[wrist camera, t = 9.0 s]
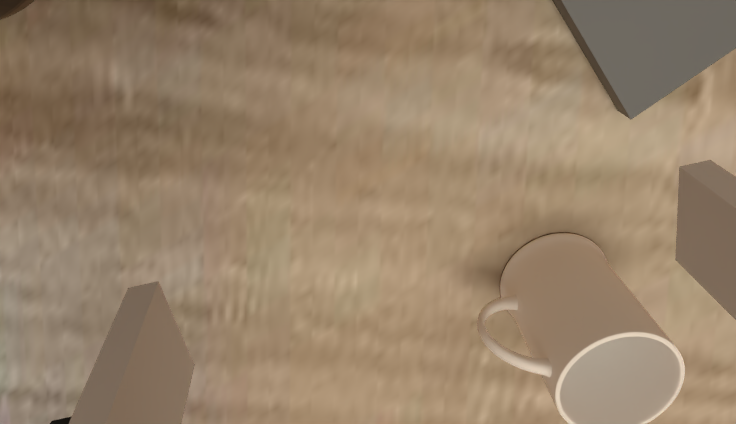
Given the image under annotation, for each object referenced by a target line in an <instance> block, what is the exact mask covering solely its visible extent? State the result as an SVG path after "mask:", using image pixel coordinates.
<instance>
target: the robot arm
mask: <svg viewBox="0 0 736 424" xmlns="http://www.w3.org/2000/svg"><path fill="white" fill-rule="evenodd" d="M33 1H34V0H0V20H1V19H3V18H6V17H9V16H11V15H13V14H15V13H17V12H19V11H20V10H22V9H24V8H25V7H27V6H28V5H29V4H31V3H32V2H33ZM675 260H676V261H677V262H678V263H679V264H680V265H681V266H682V267H683V268H684V269H685V270H686V271H687V272H688V273H689V274H690V275H691V276H692V277H693V278H694V279H695V280H696V281H697V282H698V283H699V284H700V285H701V286H702V287H703V288H704V289H705V290H706V291H707V292H708V293H709V294H710V295H711V296H712V297H713V298H714V299H715V300H716V301H717V302H718V303H719V304H720V305H721V306H722V307H723V308H724V309H725V310H726V311H727V312H728V313H729V314H730V315H731V316H732V317H733V318H734V319H735V320H736V177H735V176H733V175H732V174H731V173H729V172H728V171H726V170H725V169H723V168H722V167H720V166H719V165H717V164H716V163H714V162H713V161H711V160H708V161H703V162H699V163H694V164H689V165H685V166H680V167H679V189H678V213H677V236H676V259H675ZM194 366H195V364H194V362H193V360H192V357H191V355H190V353H189V350H188V348H187V346H186V344H185V341H184V339H183V337H182V334H181V332H180V330H179V327H178V325H177V323H176V321H175V318H174V316H173V314H172V311H171V309H170V307H169V305H168V302H167V300H166V298H165V295H164V293H163V291H162V288H161V286H160V284H159V282H153V283H149V284H144V285H140V286H135V287H131V288H128V290H127V292H126V294H125V297H124V299H123V301H122V303H121V306H120V308H119V310H118V313H117V315H116V317H115V319H114V322H113V324H112V326H111V329H110V331H109V333H108V335H107V338H106V340H105V342H104V344H103V347H102V349H101V351H100V354H99V356H98V358H97V360H96V363H95V365H94V367H93V369H92V372H91V374H90V376H89V379H88V381H87V383H86V385H85V388H84V390H83V392H82V394H81V397H80V399H79V401H78V404H77V406H76V408H75V410H74V413H73V415H72V417H68V418H64V419H59V420H54V421H52V422H51V423H50V424H181V422H182V418H183V413H184V409H185V405H186V400H187V396H188V392H189V387H190V383H191V379H192V374H193V370H194Z"/></svg>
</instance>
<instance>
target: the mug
mask: <svg viewBox="0 0 736 424" xmlns="http://www.w3.org/2000/svg"><path fill="white" fill-rule="evenodd" d="M500 294H501V298H499V299H496V300H493V301H491V302H490V303H488V304H487V305H486V306H484V308H483V309H482V310H481V312H480V314H479V317H478V322H477V327H478V332H479V335H480V337H481V339H482V341H483V342H484V344H485V345H486V346H487V347H488V348H489V350H491V351H492V352H493V353H494V354H495V355H496V356H498V357H499V358H501V359H502V360H504V361H506V362H507V363H509V364H511V365H513V366H515V367H518V368H520V369H523V370H526V371H529V372H533V373H537V374H541V376H542V378H543V380H544V382H545V384H546V386H547V388H548V390H549V393H550V395H551V397H552V399H553V401H554V403H555V405H556V407H557V409H558V411H559V413H560V414H561V416H562V417H563V418H564V419H565V420H566V421H567V422H568V423H569V424H646V423H648V422H650V421H651V420H653V419H655V418H656V417H657V416H659V415H660V414H661V413H662V412H664V411H665V410H666V409H667V408H668V407H669V406H670V405H671V403H672V402H673V401H674V400H675V398H676V397H677V395H678V393H679V391H680V389H681V387H682V384H683V381H684V376H685V366H684V361H683V358H682V356H681V354H680V352H679V350H678V349H677V348H676V346H675V345H674V344H673V343H672V341H671V340H670V339H669V338H668V336H667V335H666V334H665V333H664V332H663V330H662V329H661V328H660V327H659V325H658V324H657V323H656V322H655V320H654V319H653V318H652V317H651V316H650V314H649V313H648V312H647V311H646V309H645V308H644V307H643V306H642V305H641V303H640V302H639V301H638V300H637V298H636V297H635V296H634V295H633V294H632V292H631V291H630V290H629V289H628V287H627V286H626V285H625V284H624V283H623V281H622V280H621V279H620V278H619V276H618V275H617V274H616V273H615V271H614V270H613V269H612V268H611V266H610V265H609V264H608V262H607V259H606V257H605V255H604V253H603V252H602V250H601V249H600V248H599V247H598V246H597V245H596V244H595V243H594V242H592V241H591V240H589V239H587V238H585V237H583V236H580V235H576V234H571V233H556V234H550V235H546V236H543V237H540V238H537V239H535V240H533V241H531V242H529V243H528V244H526V245H525V246H523V247H522V248H521V249H520V250H518V251H517V252H516V253H515V254H514V255H513V257H512V258H511V259H510V260H509V262H508V263H507V265H506V267H505V269H504V271H503V274H502V277H501V281H500ZM502 310H507V311H508V312H509V313H510V314H511V315H512V316H513V318H514V320H515V322H516V324H517V326H518V328H519V330H520V332H521V334H522V336H523V338H524V340H525V342H526V345H527V347H528V349H529V351H530V353H531V355H532V357H533V358H532V357H527V356H524V355H521V354H518V353H515V352H513V351H511V350H509V349H507V348H505V347H504V346H502V345H501V344H499V343H498V342H497V341H496V340H494V339H493V338H492V337H491V335H490V334H489V333H488V331H487V329H486V327H485V321H486V319H487V318H488V317H489V316H490V315H491V314H493V313H495V312H498V311H502Z"/></svg>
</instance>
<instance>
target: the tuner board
mask: <svg viewBox="0 0 736 424" xmlns="http://www.w3.org/2000/svg"><path fill="white" fill-rule="evenodd" d="M553 2H554V3H555V5H556V7H557V8H558V10H559V12H560V14H561V15H562V17H563V19H564V20H565V22H566V24H567V25H568V27H569V29H570V30H571V32H572V34H573V36H574V37H575V39H576V41H577V42H578V44H579V46H580V47H581V49H582V51H583V52H584V54H585V56H586V58H587V59H588V61H589V63H590V64H591V66H592V68H593V69H594V71H595V73H596V75H597V76H598V78H599V80H600V81H601V83H602V85H603V86H604V88H605V90H606V91H607V93H608V95H609V97H610V98H611V100H612V102H613V103H614V105H615V107H616V108H617V110H618V111H619V112H621V113H622V114H624V115H625V116H627V117H628V118H629V119H632V118H634V117H635V116H637V115H638V114H640V113H641V112H643V111H644V110H646V109H647V108H649V107H650V106H652V105H653V104H654V103H656V102H657V101H659V100H660V99H662V98H663V97H665V96H666V95H668V94H669V93H671V92H672V91H674V90H675V89H677V88H678V87H679V86H681V85H682V84H684V83H685V82H687V81H688V80H690V79H691V78H693V77H694V76H696V75H697V74H699V73H700V72H701V71H703V70H704V69H706V68H707V67H709V66H710V65H712V64H713V63H715V62H716V61H718V60H719V59H721V58H722V57H723V56H725V55H726V54H728V53H729V52H731V51H732V50H734V49H735V48H736V0H553Z"/></svg>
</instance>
